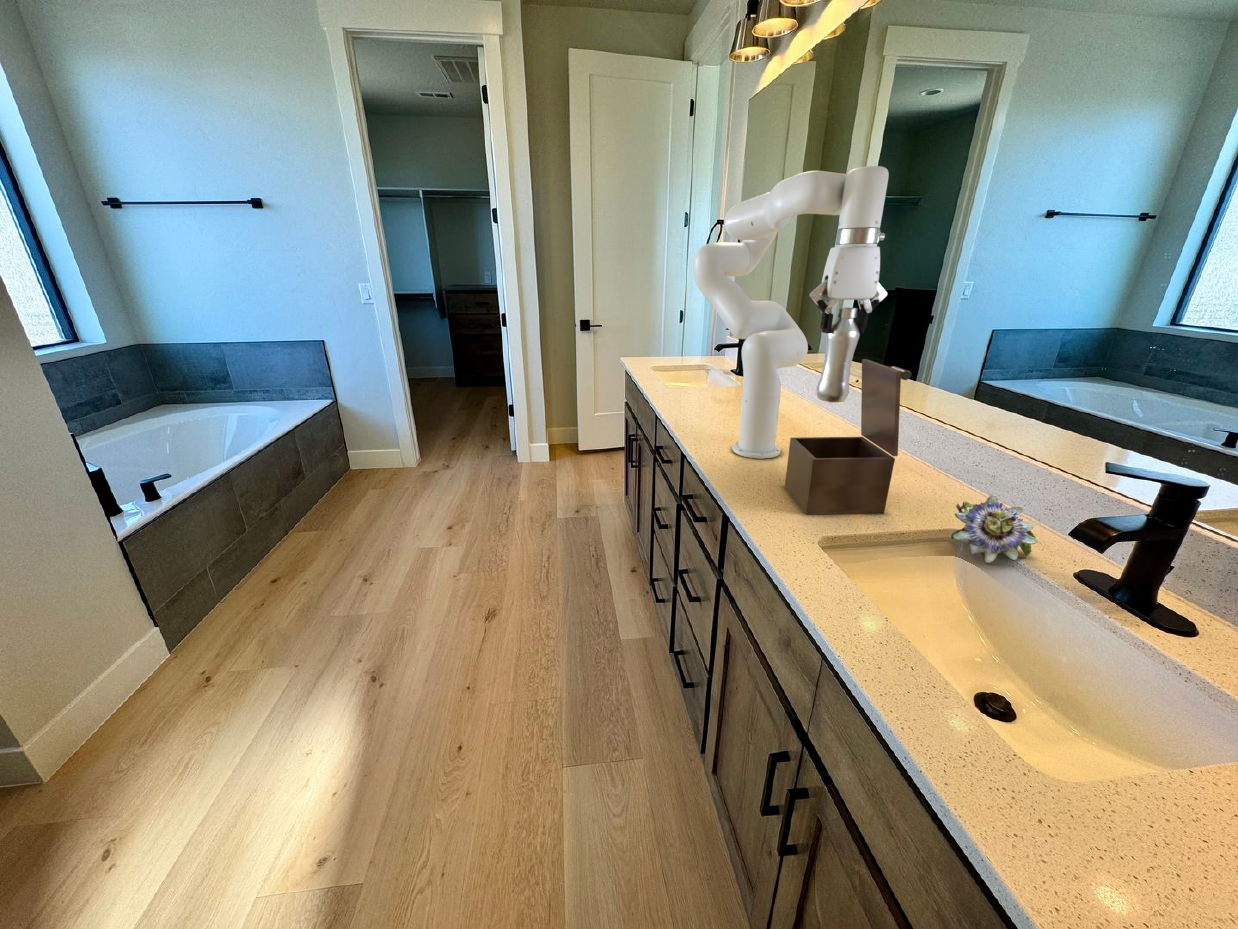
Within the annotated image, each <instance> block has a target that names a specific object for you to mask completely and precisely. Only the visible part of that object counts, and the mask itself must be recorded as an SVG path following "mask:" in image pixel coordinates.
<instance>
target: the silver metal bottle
mask: <svg viewBox="0 0 1238 929" xmlns="http://www.w3.org/2000/svg"><path fill="white" fill-rule="evenodd" d="M857 313H858V308H857V307H844V306H843V307H841V306H840V307H838V308H837V312H836V315H835V317H836V319H835V321H833V322H832V328H831V333H829V334H827V333H825V352H824V361H823V365H822V366H823V367H822V370H821V374H820V378H819V380H818V383H817V385H816V388H815V390H816V397H817V399H818V400H820V401H823V402H825V403H831V404H832V403H834V404H835V403H843V402H845V401H846V400H847V398H848V396H849V393H850V377H851V376H850V375H851V366H852V363H853V362H852V361H853V358H854V354H855V350H856V349H857V345H858V342H859V339H860V336H861V333H859V329H858V327H857V325H856V323H855V321H856V317H857Z"/></svg>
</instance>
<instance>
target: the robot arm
mask: <svg viewBox="0 0 1238 929" xmlns="http://www.w3.org/2000/svg"><path fill="white" fill-rule="evenodd" d="M889 175H890V174H889V170H888V168H886V167H885V166H881V165H868V166H867V165H866V166H860V167H855V168H853V169H851V170H849V171H848V173H842V172H840V173H839V172H833V171H826V170H825V171H824V170H809V171H805V172H800V173H798V174H795V175H792V176H790V177H788V178H785V179H782V180H781V181H779V182H777V183H776V184H775V186H774V187H772V189H771V190H770V191H769V192H766V193H762V194H761V195H756V196H754V197H751V198H749V199H745V200H743V201H741V202H738V203H736V204H735V205H733V206H732V207H730V208H729V209H728V210H727V212H726V214H725V215H724V219H723V225H724V230H725V232H726V233H727V234H728V235H729V236H730V237H731V238H733V239H736V240H738V241H739V240H740V241H741V242H729V241H728V242H727V241H725V242H723V241H721V242H720V241H717V242H710V243H707V244H704V245H703V246H701V247H700V248H698V249H697V251H696V253H695V254H694V257H693V263H692V270H693V271H692V272H693V277H694V281H695V284H696V286H697V288H698V290H699V291H700V293H701V294H702V296H704V298H705V299H706V300H707V301H708V302H709V304H710V305H711V306H712V307H713V308H714V310H715V312H716V314H718V316H719V318H720V319H721V321H723V323H724V325H725V326H726V327H727V329H728V330H729V332H730V334H732V336H733V337H734V338H736V339H739V340H744V341H743V344H742V347H741V361H742V362H741V363H742V370H743V371H742V375H743V376H742V378H743V379H742V380H743V381H742V396H741V409H740V419H739V420H740V421H739V433H738V434H739V435H738V441H736V442H734V443H733V445H732V451H733V453H735V454H737V455H739V456H741V457H745V458H749V459H759V460H762V459H772V458H776V457H778V456H779V455H780V454H781V451H782V449H781V447H780V446H779V445H778V444H776V441H777V440H776V439H777V431H778V421H779V412H780V403H781V392H782V384H781V379H780V376H779V375H778V371H777V369H782V368H790V367H795V366H797V365H799V364H801V363H803V361H804V360H805V359H806V357H807V355H808V352H809V351H808V350H809V344H808V340H807V337H806V336H805V334H804V333H803V331H802V329H801V328H800V327H799V325H798V324H797V323H796V321H795V320H794V319H793V318H792V316H791V315H790V314H789V313H788V311H787V310H786V309H785V308H784V307H783V305H781V304H780V303H778V302H776V301H773V300H755V299H754V300H753V299H751V298H750V297H749V296H748V295H747V294H746V293H745V291H744V290H743V288H742V287H741V286H740V284H738V283H737V282H735V281H734V280H733V279H731V278H730V277H744V276H747V275H749V274H750V273H752V272H753V271H754V270H755V268H757V266H758V264H759V263H760V261H761V259H762V258H763V257H764V256H765V254H766V252H767V251H768V249H769V248H770V246H771V244H772V243H773V242H774V240H775V238H776V236H777V235H778V233H779V231H781V230H784V229H785V228H786V227H787V226H788V225H789V223H790V222H791V218H792V217H796V216H800V215H806V214H807V215H808V214H809V215H825V216H839V221H838V227H837V233H836V241H835V247H831V248H830V250H829V252H828V255H827V259H826V263H825V266H824V270H823V274H822V278H821V283H820V284H819V285H818V286H817V287H815V288H814V289H813V290H812V291H810V293H809V297H810V299H811V300H812V301H813V302H814V304H815V306H816V307H817V308H818V309H819V311H820V313H821V320H820V326H819V327H820V329H821V333H823V334H826V333H827V334H829V333H831V328H832V324H833V322H834V313H832V311H833V309H834V308H835V305H836V304H837V302H838V301H849V300H853V301H854V300H855V301H857V304H858V307H859V311H857V314H856V315H857V317H856V318H855V320H854V321H855V323H856V325H857V327H858V329H859V334H864V333H865V329H866V328H867V327H868V326H867V325H868V321H869V314H871V313H872V311H873V310H874V309H875V308H876V307H877V306H878V305H879V304H880V302H882V301H883V300H884V299H885V298H886V297H887V296H888V292H887V290H886V289H885V288H884V287H883V286H882V284H881V283H880V282H879V280H880V273H881V272H880V271H881V247H880V246H878V244H879V242H880V241H884V240H885V239H886V233H885V232H881V230H882V229H880V228H881V225H882V224H881V223H882V217H883V212H884V206H885V201H886V194H887V190H888V183H889V178H890V176H889ZM822 298H823V299H825V300H823V299H822Z"/></svg>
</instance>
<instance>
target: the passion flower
mask: <svg viewBox="0 0 1238 929" xmlns="http://www.w3.org/2000/svg"><path fill="white" fill-rule="evenodd" d="M1003 506H1004V502H1000V501H999V497H998V496H997V495H996V494H994V493H991V495H989V496H988V497H987V498H986V500H985V501H984V502H980V503H979V504H977V503H975V504H972V503H970V502H968V501H963V502H962V505H960V503H958V502H957V504H956V505H955V507H956V509H957V511H958V512H957V513H954V516H955V518H957V519H958V520H959V521H960V522H961V523H963V524H965V525H964V526H963V527H962V528H961V529H957V530H956V531H953V532H952V533H951V534H950V538H951V539H952V540H956V541H964V540H967V541H968V552H969V554H970V556H974V555H975V556H976V555H977V554H978V555H980V556H982V558H983V561H984V563H985V564H991V563H993V562H994V561H995V560H996V559H997V557H998V555H999V554H1004V555H1005V556H1006V557H1007V558H1008V559H1010V560H1012V561H1016V560H1017V559H1018V557H1019V551H1018V550H1019V549H1018V548H1020V549H1021V551H1022V553H1023V555H1024V557H1025V558H1026V557H1028V556H1029V555H1030V554H1031V553H1032V545H1035V544H1037V543H1038V539H1037V538H1036V536H1035V534H1034V533H1033V532H1032V530H1033V529H1034V528H1035V525H1034V524H1033V523H1031V522H1028V521H1023V520H1024V519H1023V518H1021V517H1022V515H1021V514H1022V513H1023V511H1024V507H1023V506H1021V505H1019V506H1013V507H1012V506H1011V507H1009V508H1008V507H1003ZM968 508H969V509H968ZM963 510H964V511H963ZM1019 516H1020V517H1019Z"/></svg>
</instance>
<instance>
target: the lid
mask: <svg viewBox="0 0 1238 929" xmlns="http://www.w3.org/2000/svg"><path fill="white" fill-rule="evenodd" d="M911 377H912V372H911V371H910V370H908V369H904V368H902V367H898V366H896V365H892V366H887V365H885V364H881V363H879V362H876V361H873V360H871V359H867V358H863V359H861V401H860V402H861V409H860V410H861V412H860V413H861V414H860V416H861V418H860V420H861V421H860V435H861V437H864V438H865V439H867V440H868V441H870V442H871V443H873V444H874V445H876V446H877V447H879V448H880V449H882V450H883V451H884V452H886V453H887V454H889V455H890V456H892V457H898V456H899V436H900V435H899V433H900V411H901V410H900V406H901V388H902V387H901V384H902V381H908V380H910V379H911Z"/></svg>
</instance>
